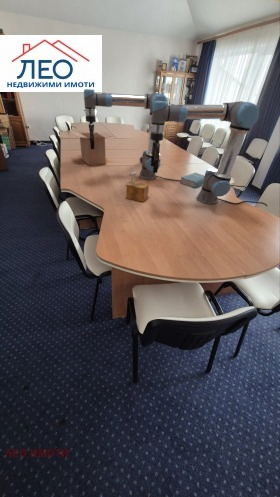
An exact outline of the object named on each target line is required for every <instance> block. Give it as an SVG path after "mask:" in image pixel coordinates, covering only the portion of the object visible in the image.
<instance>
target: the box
mask: <svg viewBox="0 0 280 497" xmlns="http://www.w3.org/2000/svg"><path fill="white" fill-rule="evenodd" d="M70 133H71V134H72V135H74V136H75V137H77V138H79V144H80V153H81V160H83V162H85V163H86V165H87V166H95V165H97V166H98V165H106V163H107V162H106V158H107V157H106V138H113V137H114V136H113V135H111V134H109V133H108V132H105V131H98V132H96V131H94V134H95V136H94V142H95V145H94V149H91V145H90V140H89V138H90V131H89V130H77V132H76V131H70Z"/></svg>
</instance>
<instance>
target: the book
mask: <svg viewBox="0 0 280 497" xmlns="http://www.w3.org/2000/svg"><path fill="white" fill-rule="evenodd" d="M204 177H205V174H201V173H198V172H193V173H190V174H188V175H183V176H181V177H180V180H181V181H179V183H180V184H182V185H185V186H187V187H190V188H193V189H195V188H198V187H200V186H202V185H203V181H204Z"/></svg>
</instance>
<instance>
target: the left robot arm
mask: <svg viewBox="0 0 280 497" xmlns="http://www.w3.org/2000/svg"><path fill="white" fill-rule="evenodd" d="M83 101H84V102H83V103H84V114H85V122H87V123H88V131H90V138H89V140H90V145H91V149H94V145H95V142H94V136H95V134H94V132H95V124H94V123H96V122H97V116H96V115H97V109H96V107H103V108H112V107H132V108H133V107H134V108H143V109H144V110H149V116H150V118H151V119H150V126H152V110H153V103H154V101H166V102H167V106H169V100H168V98H167V96H166V95H165V94H163V93H161V92H160V93H159V92H154V93H145V94H126V93H109V92H108V93H107V92H101V93H99V92H96V91H95V89H93V88H92V89H89V88H84V90H83ZM150 126H149V137H148V146H147V150H143V151H142V157H143V159H142V163H141V169H140V171H139V178H140V179H142V180H146V181H154V180H156V178H160V179H162V180H166V181H173V182H174V181H175V182H181V179H173V178H167V177H162V176H160V175H159V176H158V175H157V173H153V166H151V157H152V154H151V152H152V145H153V140H151V139H150V138H151V132H152V131H151V127H150ZM160 142H161V141H159V144H160ZM160 156H161V154H160V153H159V159H160ZM156 160H157V159H156ZM160 166H161V161H160V162H158V170H159V169H160ZM230 186H231V187H237V188H244V189H247V187H246V186H245V185H235V184H230Z"/></svg>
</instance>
